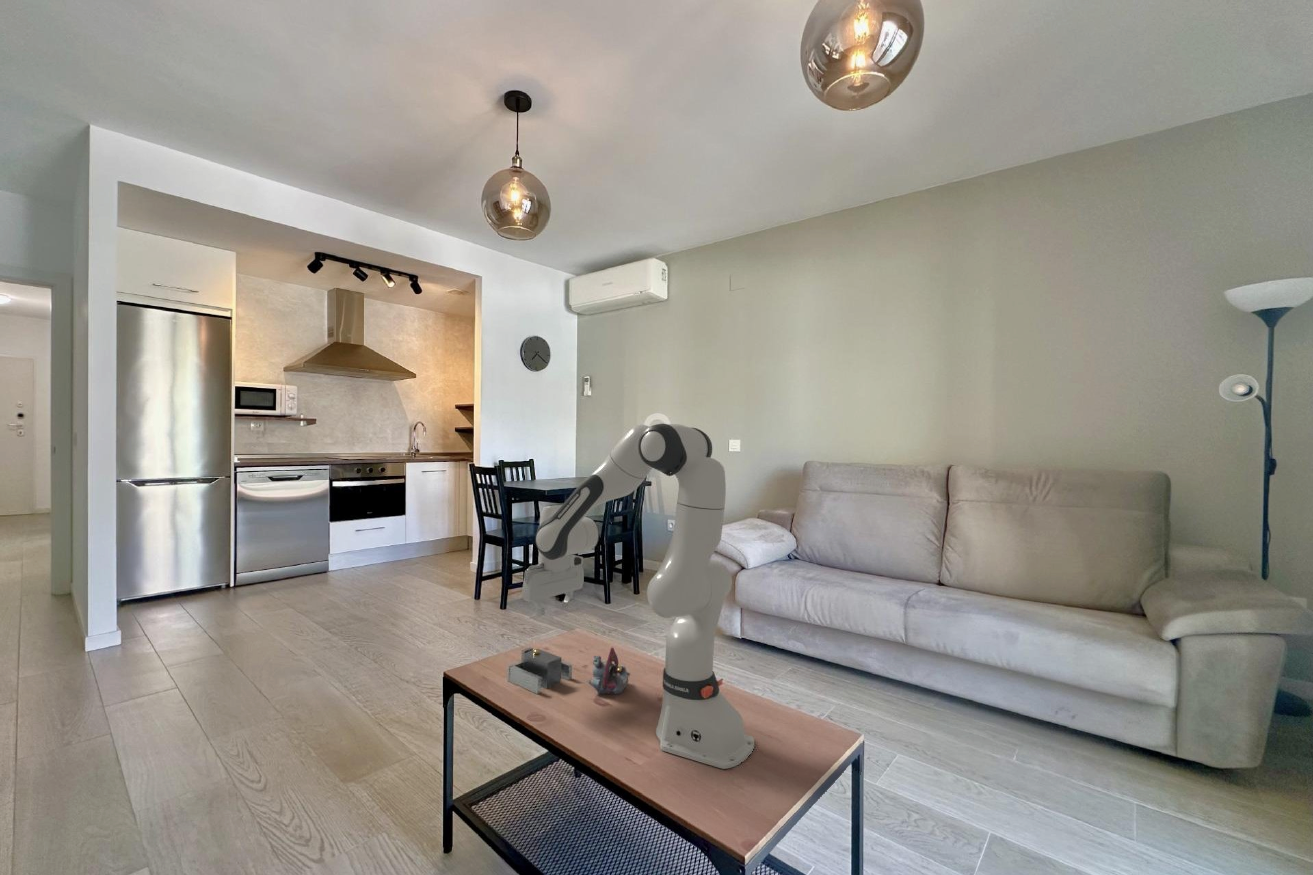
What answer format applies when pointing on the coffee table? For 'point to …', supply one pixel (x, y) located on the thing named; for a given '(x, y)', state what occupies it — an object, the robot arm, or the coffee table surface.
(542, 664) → the block
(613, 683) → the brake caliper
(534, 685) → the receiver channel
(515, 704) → the coffee table surface
